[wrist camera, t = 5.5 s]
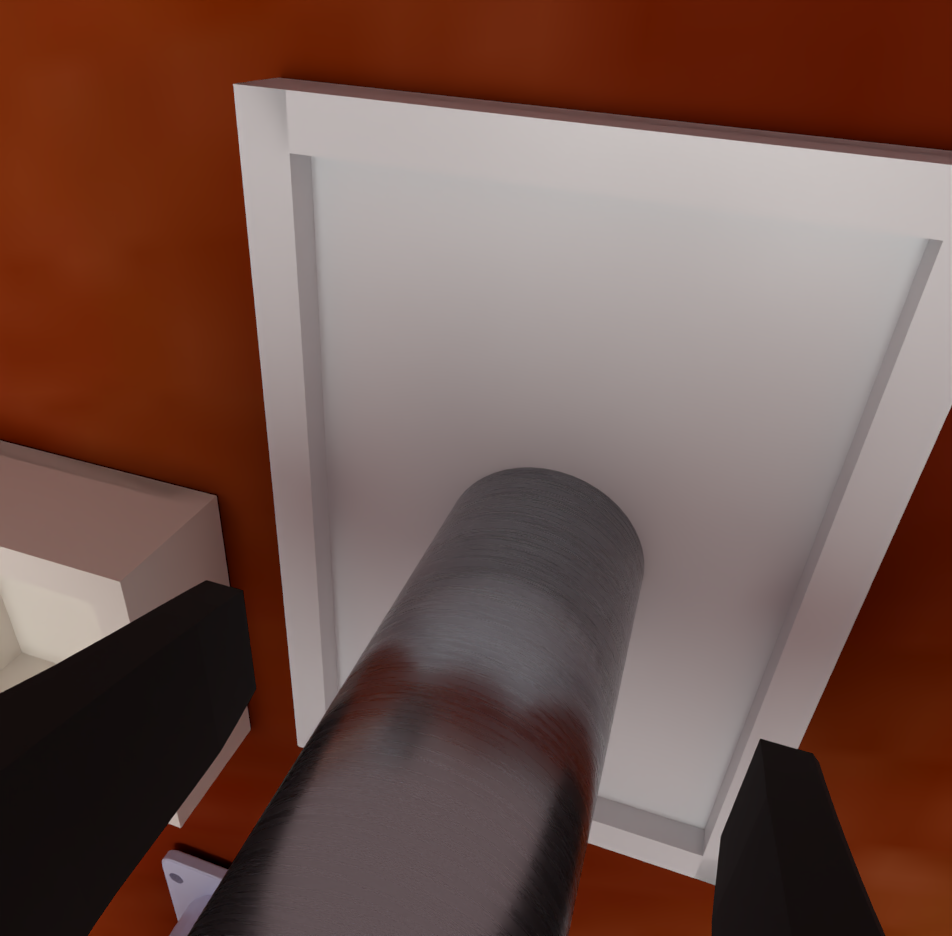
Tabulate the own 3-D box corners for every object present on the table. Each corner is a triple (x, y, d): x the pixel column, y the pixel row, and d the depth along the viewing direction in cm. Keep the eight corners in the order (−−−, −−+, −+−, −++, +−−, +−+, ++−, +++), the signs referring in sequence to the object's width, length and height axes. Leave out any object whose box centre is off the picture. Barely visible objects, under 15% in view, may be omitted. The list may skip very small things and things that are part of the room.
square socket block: (250, 729, 20) (180, 828, 18) (20, 652, 22) (-73, 733, 20) (216, 496, 16) (119, 581, 14) (-63, 424, 18) (-193, 489, 16)
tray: (735, 839, 17) (734, 891, 16) (321, 707, 19) (297, 746, 18) (1022, 158, 9) (1053, 176, 8) (279, 77, 11) (233, 83, 10)
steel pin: (604, 660, 14) (439, 1341, 7) (429, 587, 15) (104, 1155, 7) (676, 516, 12) (549, 1266, 5) (471, 437, 13) (78, 1014, 5)
